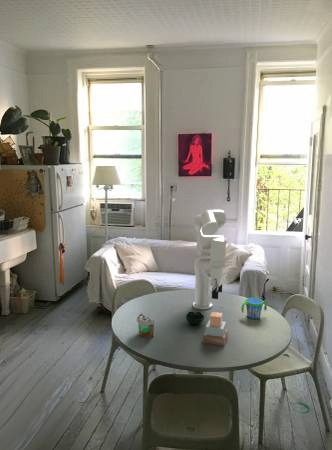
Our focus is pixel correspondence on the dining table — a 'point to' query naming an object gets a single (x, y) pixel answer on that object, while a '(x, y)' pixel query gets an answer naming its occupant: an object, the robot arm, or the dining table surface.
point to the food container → (145, 326)
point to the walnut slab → (215, 339)
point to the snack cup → (254, 307)
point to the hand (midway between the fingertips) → (216, 295)
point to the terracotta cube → (216, 319)
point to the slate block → (216, 329)
